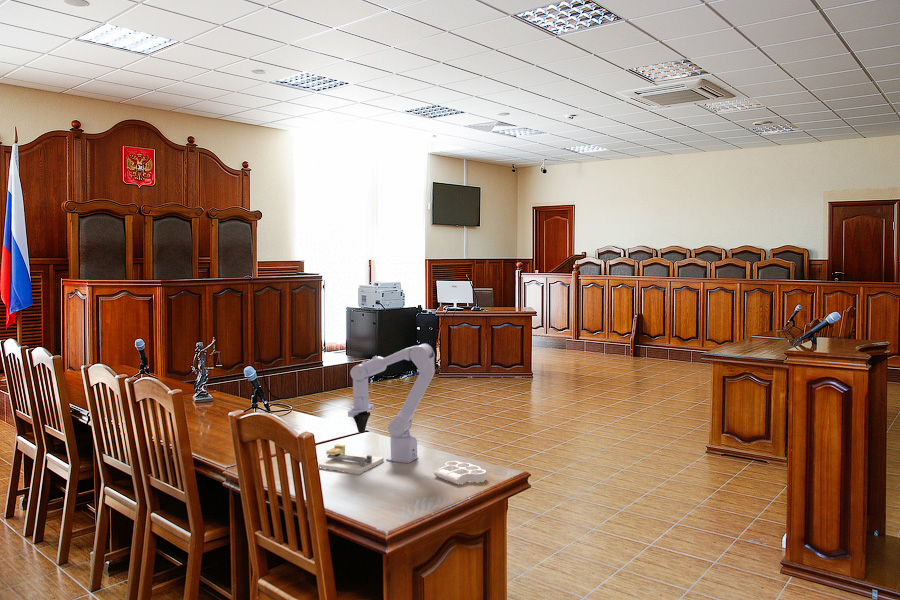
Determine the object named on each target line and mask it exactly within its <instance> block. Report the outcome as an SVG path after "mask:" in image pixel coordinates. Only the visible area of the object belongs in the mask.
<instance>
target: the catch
mask: <svg viewBox="0 0 900 600" xmlns="http://www.w3.org/2000/svg"><path fill="white" fill-rule="evenodd" d="M325 453H326V455H337V454H341V455H345V453H346V445H345V444H344V445H343V444H338V443H337V444H335V445H334V447H333V448H330V449H327V450H326V452H325Z"/></svg>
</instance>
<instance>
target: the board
mask: <svg viewBox="0 0 900 600" xmlns="http://www.w3.org/2000/svg"><path fill="white" fill-rule="evenodd" d="M345 455H349V456H356V457H364V458H367V457H369V458H370V460H369V461H368V462H366V463H365V459H360V462H356V461H348V460H341V459H334V458H327V456H325V457H324V458H321V459H319V460H317V461H318V462H319V468H320V467H321V468H326V469H331V470H330V471H333V470H338V471H337V472H340V471H344V472H343V473H346V472H348V473H347V474H353V473H354V474H355V475H361V474H363V473H365V472H367V471H369V470H370V468H371V469H372V467H373V468H374V467H377V466H378V465H381V464H383V462H384V459H385V458H384V457H381V456H380V457H379V456H373V455H371V454H370V455H369V454H365V455H364V454H359V453H350V452H345ZM376 465H377V466H376ZM319 468H318V469H319ZM326 469H325V470H326ZM368 469H369V470H368ZM366 470H367V471H366ZM364 471H365V472H364Z"/></svg>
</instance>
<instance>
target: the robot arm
mask: <svg viewBox="0 0 900 600" xmlns="http://www.w3.org/2000/svg"><path fill="white" fill-rule="evenodd" d="M435 355H436V354H435V352H434V349H433V347H432V346H431V345H430V344H428V343H421V344H419V345H413V346H410V347H406V348H404V349H401V350H399V351H396V352H394V353H393V354H390V355H388V356H385V357H383V356H379V355H378V356H377V355H375V356H372V358H371V359H368V360H363V361H362V362H361V363H359V364H356V365H354V366H353V367H352V368H351V369H350V372H349V373H350V377H351V379H352V394H353V395H352V396H353V398H352V399H353V401H352V402H353V404H352V406H351V407H350V408H351V409H350V410H348V411H347V417H350V418H352V419H353V420H354V422H355V424H356V428H357V432H358V433H365V432H366V428H367V423H368V420H369V418H370V416H371V412H369V411H370V410H374V409H375V408H374V407H375V405H374V404H373V403H370V402H369V401H370V400H369V396H370V395H369V377H372V376H375V375H377V374H379V373H382V372H384V371H386V369H387V366H390V365H393V364H395V363H398V362H400V361H403V360H406V361H409V362H410V361H412V363H413V364H414V365H415V366H416V368H417V370H418V373H419V374H418V376H417V377H416V380H415V382H414V384H413V385H412V388H411V389H410V391H409V393H408V396H407V397H406V399H405V401H404V403H403V405H402V406H401V409H400V410H399V411H398V412H397V414H396V416H395V417H394V419H393V420H391V421H390V422H389V424H388V427H387V429H388V430H387V431H388V432H389V435H390V437H389V438H390V456H389V457H387V458H386V459H385V460H386V461H389V462H398V463H404V464H409V463H411V462H413V461H414V460H416V459H418V458H419V456H418V440H417V437H415V436H412V435H411V432H410V430H411V427H412V425H413V424H412V423H413V418H414V414H415V412H416V410H417V408H418V406H419V404H420V402H421V401H422V398H423V397H424V395H425V393H426V392H427V389H428V388H429V385H430V383H431V382H432V379H433V377H434V375H435V374H436V373H435V372H436V368H435V358H436V356H435Z"/></svg>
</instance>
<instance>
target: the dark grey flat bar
mask: <svg viewBox="0 0 900 600" xmlns="http://www.w3.org/2000/svg"><path fill="white" fill-rule="evenodd" d="M326 457H327V458H334V459H341V460H348V461H356V462H360V459H365V463H366V462H368V461H369V460H370V458H369V457H367V458H364V457H356V456H349V455H341V454H337V455H328V454H326Z"/></svg>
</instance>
